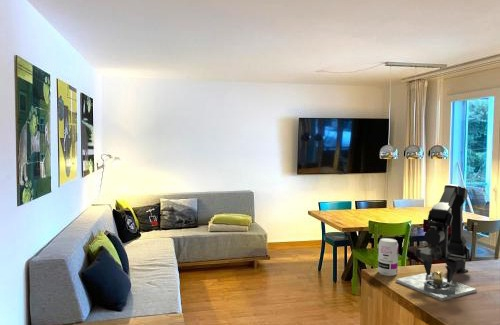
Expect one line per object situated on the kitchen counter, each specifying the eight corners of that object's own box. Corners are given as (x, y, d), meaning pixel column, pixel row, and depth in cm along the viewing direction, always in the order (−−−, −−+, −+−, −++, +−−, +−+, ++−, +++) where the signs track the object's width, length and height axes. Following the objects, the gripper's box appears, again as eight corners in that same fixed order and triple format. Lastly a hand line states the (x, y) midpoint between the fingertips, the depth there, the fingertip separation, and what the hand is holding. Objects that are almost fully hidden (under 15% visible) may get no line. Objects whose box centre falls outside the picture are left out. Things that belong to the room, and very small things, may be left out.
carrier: (428, 274, 175) (429, 266, 175) (476, 292, 156) (476, 282, 156) (395, 281, 167) (396, 272, 166) (441, 301, 147) (442, 290, 147)
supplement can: (394, 270, 181) (395, 238, 180) (399, 276, 173) (400, 242, 172) (376, 269, 182) (377, 237, 181) (380, 276, 174) (381, 242, 173)
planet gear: (436, 283, 162) (436, 268, 161) (450, 288, 156) (450, 273, 156) (425, 285, 159) (425, 271, 159) (439, 291, 153) (439, 276, 153)
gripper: (405, 236, 161) (404, 274, 162) (446, 248, 145) (445, 290, 145) (425, 234, 166) (423, 270, 167) (466, 244, 149) (465, 285, 150)
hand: (438, 278), depth 157 cm, fingers open, 9 cm apart
